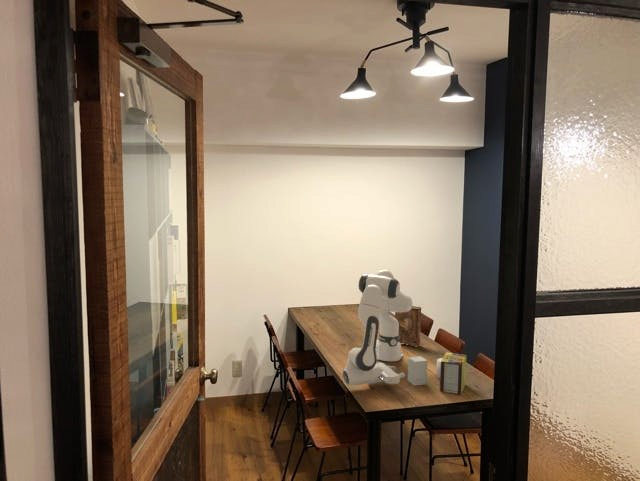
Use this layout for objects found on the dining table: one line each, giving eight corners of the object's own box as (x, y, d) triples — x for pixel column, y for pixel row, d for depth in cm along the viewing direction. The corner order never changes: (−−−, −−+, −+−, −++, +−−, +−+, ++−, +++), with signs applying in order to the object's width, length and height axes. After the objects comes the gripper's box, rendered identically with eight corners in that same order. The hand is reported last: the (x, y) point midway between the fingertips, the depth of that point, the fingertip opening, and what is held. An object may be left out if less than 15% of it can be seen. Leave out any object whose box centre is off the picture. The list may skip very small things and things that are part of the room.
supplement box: (427, 384, 247) (427, 360, 246) (413, 386, 245) (414, 361, 244) (420, 379, 254) (420, 355, 253) (407, 380, 252) (407, 357, 251)
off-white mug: (452, 380, 253) (453, 363, 253) (436, 379, 255) (437, 362, 254) (451, 373, 263) (451, 357, 262) (436, 372, 265) (436, 356, 264)
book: (421, 345, 312) (422, 307, 310) (417, 347, 308) (418, 309, 306) (397, 340, 322) (399, 303, 319) (394, 342, 317) (395, 305, 315)
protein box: (465, 384, 249) (466, 354, 247) (461, 395, 235) (462, 364, 233) (444, 380, 253) (445, 351, 251) (439, 391, 239) (440, 360, 237)
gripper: (384, 375, 232) (409, 372, 236) (366, 361, 251) (391, 358, 255) (383, 388, 232) (409, 385, 236) (366, 373, 252) (390, 370, 256)
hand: (399, 371), depth 246 cm, fingers open, 8 cm apart
